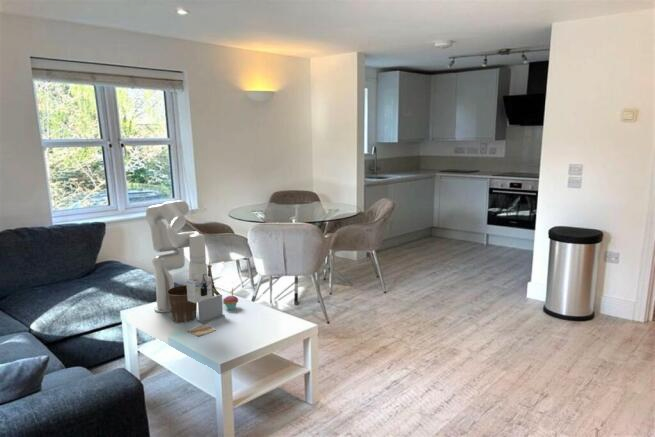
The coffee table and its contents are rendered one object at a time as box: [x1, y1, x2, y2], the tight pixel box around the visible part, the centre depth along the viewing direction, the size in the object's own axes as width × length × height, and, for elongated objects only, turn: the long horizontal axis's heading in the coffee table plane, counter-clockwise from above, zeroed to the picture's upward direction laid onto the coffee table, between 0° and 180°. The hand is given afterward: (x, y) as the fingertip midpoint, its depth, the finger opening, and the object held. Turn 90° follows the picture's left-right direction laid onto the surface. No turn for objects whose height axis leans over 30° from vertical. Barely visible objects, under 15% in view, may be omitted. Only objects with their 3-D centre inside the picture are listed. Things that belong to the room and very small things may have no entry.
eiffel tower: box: [207, 262, 221, 297], centre depth 275 cm, size 11×11×25 cm
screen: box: [197, 293, 226, 325], centre depth 243 cm, size 5×14×12 cm, turn 138°
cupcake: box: [222, 288, 239, 311], centre depth 259 cm, size 9×8×12 cm
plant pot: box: [167, 284, 198, 324], centre depth 244 cm, size 16×16×16 cm
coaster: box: [187, 323, 216, 338], centre depth 229 cm, size 10×10×1 cm
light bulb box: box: [185, 276, 212, 304], centre depth 225 cm, size 11×7×11 cm, turn 145°
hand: (199, 293), depth 226 cm, fingers closed on light bulb box, 7 cm apart
